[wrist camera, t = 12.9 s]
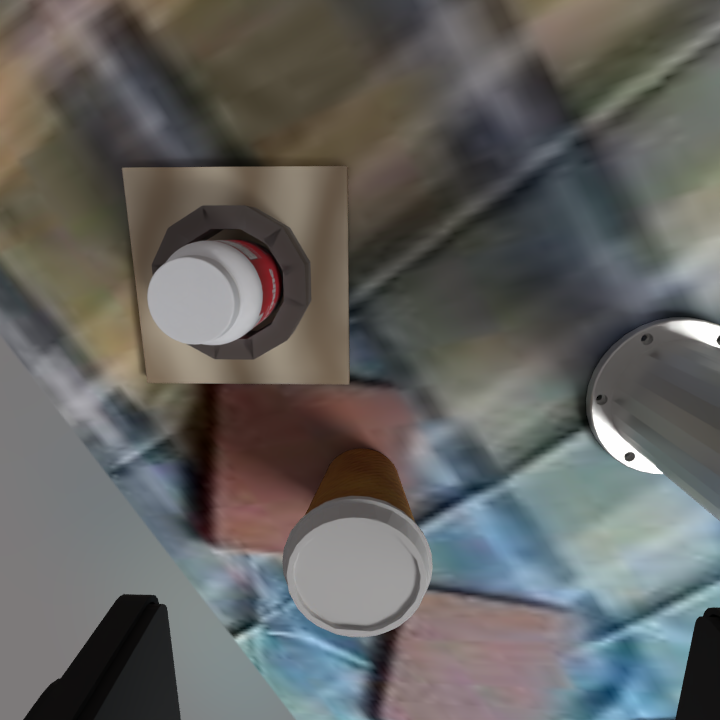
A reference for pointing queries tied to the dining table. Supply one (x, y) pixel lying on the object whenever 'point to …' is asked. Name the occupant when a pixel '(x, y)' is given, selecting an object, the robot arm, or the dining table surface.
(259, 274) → the pill bottle
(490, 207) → the dining table surface
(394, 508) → the disposable coffee cup
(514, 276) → the dining table surface
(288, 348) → the socket board
